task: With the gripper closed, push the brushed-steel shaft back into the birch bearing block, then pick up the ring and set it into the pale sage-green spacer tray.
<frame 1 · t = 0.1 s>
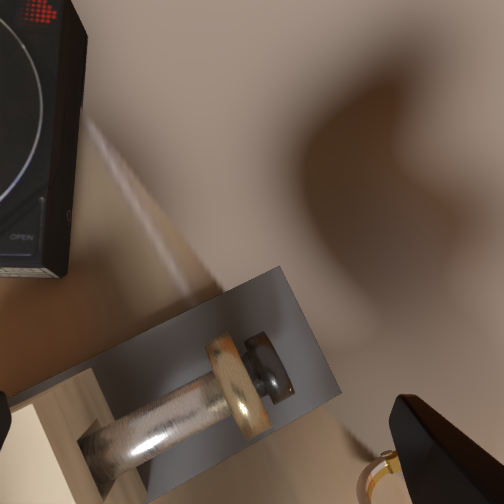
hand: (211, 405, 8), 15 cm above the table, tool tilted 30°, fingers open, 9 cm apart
ring: (385, 456, 24), on the table
bearing block: (59, 456, 21), on the table
shaft: (170, 419, 18), point 4 cm above the table, slide at 6.5 cm
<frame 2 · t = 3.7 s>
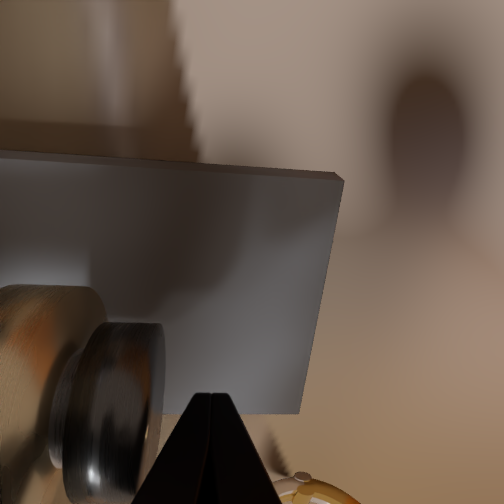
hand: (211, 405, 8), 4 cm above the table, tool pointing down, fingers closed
ring: (298, 473, 17), on the table
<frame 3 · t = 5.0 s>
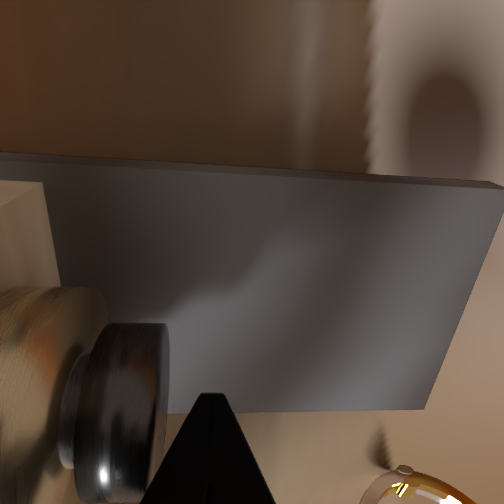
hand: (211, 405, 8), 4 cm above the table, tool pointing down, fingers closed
ring: (398, 466, 18), on the table
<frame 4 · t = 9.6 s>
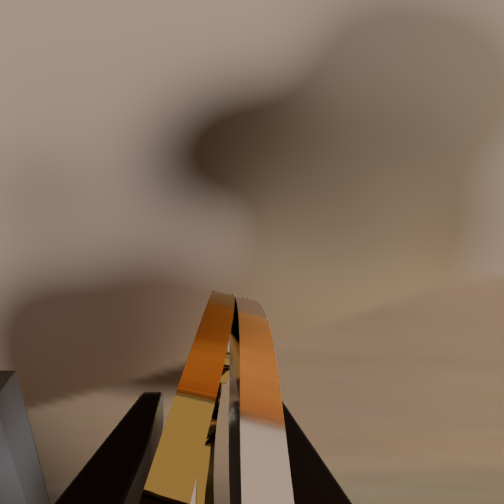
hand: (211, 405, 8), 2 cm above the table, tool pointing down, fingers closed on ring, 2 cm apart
ring: (213, 341, 10), on the table, touching gripper
when the fingers open (4 cm above the table, at t = 14.4 s): ring drops 1 cm, resting on spacer tray.
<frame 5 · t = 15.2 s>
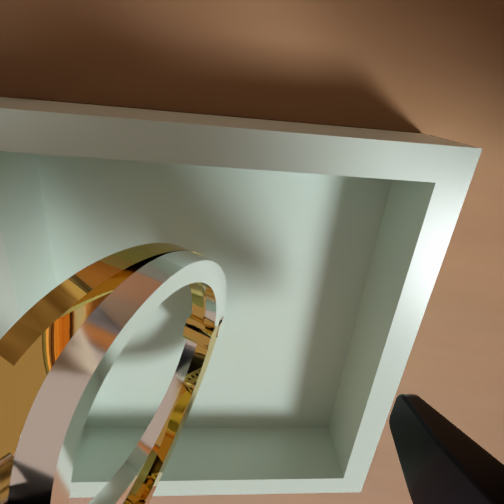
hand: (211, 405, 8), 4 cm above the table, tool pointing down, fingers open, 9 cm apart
ring: (215, 315, 11), point 1 cm above the table, touching gripper, spacer tray
spacer tray: (215, 307, 12), on the table
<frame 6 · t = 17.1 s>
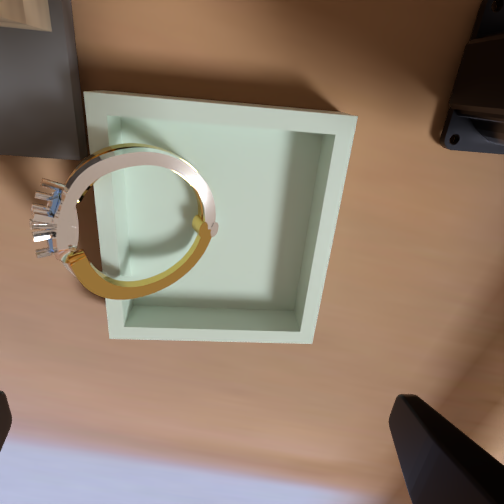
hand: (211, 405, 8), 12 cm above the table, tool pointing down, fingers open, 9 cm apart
ring: (217, 225, 18), point 1 cm above the table, touching spacer tray
spacer tray: (219, 222, 19), on the table
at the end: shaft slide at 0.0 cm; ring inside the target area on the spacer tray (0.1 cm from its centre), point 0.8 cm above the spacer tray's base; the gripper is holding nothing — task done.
